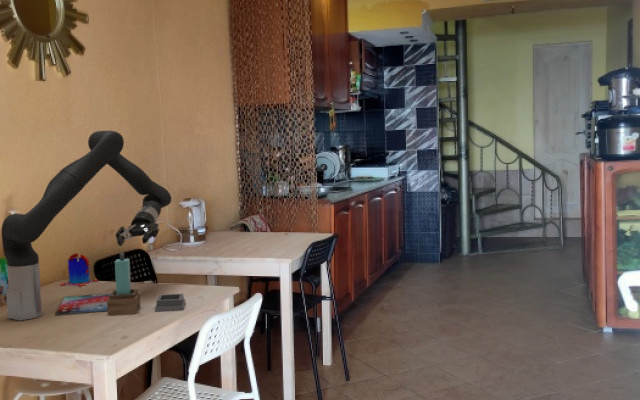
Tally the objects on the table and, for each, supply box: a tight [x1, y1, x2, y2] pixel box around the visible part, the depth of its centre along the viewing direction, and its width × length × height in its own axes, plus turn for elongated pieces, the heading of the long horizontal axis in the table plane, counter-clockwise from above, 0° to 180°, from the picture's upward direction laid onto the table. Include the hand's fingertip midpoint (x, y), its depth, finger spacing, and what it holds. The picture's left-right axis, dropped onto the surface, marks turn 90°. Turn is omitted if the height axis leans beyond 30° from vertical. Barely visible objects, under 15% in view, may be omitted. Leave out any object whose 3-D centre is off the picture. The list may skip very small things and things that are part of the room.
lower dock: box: [154, 293, 186, 313], centre depth 215 cm, size 9×9×4 cm
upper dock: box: [107, 288, 142, 316], centre depth 211 cm, size 9×9×6 cm
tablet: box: [54, 292, 112, 316], centre depth 221 cm, size 19×25×1 cm
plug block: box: [114, 252, 132, 295], centre depth 210 cm, size 4×4×14 cm
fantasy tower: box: [59, 253, 100, 288], centre depth 251 cm, size 12×12×12 cm
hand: (131, 242), depth 218 cm, fingers open, 8 cm apart
